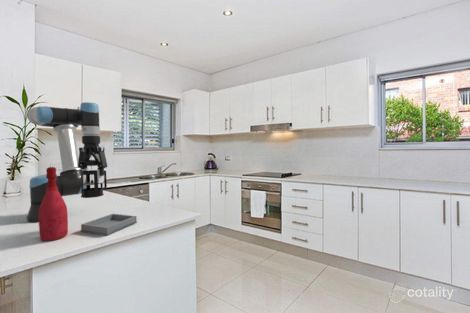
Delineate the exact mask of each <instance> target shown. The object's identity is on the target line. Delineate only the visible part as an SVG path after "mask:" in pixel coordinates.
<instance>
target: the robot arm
mask: <svg viewBox="0 0 470 313" xmlns="http://www.w3.org/2000/svg"><path fill="white" fill-rule="evenodd" d="M26 117H27V119H28V121H29V122H30V123H32V124H34V125H37V126H40V127H46V128H53V129H52V130H53V131H54V132H55V133H56V134H57V142H58V147H59V148H58V149H59V154H60V162H61V168H62V170H61V171H60V172H59V175H58V174H57V173H56V176H57V177H56V178H55V179H56V186H57V188H58V191H59V193H60V195H61V197H67V196H74V195H80V194H81V195H82V193H81V171H89V166H87V165H82V163H81V162H80V161H85V160H91V156H92V157H93V158H94V159H93V160H95V161H97V162H96V164H97V169H96V170H97V181H98V183H102V184H103V183H104V170H105V169H106V168H108V163H107V158H106V154H105V146H100V145H99V144H101V136H100V135H101V132H100V131H101V128H100V127H101V126H100V108H99V105H98V103H97V102H88V101H87V102H81V103H80V107H79V109H77V108H67V107H65V108H64V107H53V106H48V105H47V106H45V105H44V106H41V105H40V106H35V107H31V108H30V109H29V110H28V111H27V113H26ZM79 126H81V135H82V136H81V143H82V144H83V147H79V148H78V147H77V140H76V135H75V134H76V133H75V132H76V131H77V128H79ZM87 148H90V149H87ZM78 151H79V154H78ZM46 175H47V173H46V174H40V175H37V176H36V175H35V176H33V177H31V178H30V179H29V192H30V193H29V195H30V196H29V197H30V208H29V209H28V210H29V211H28V213H27V216H26V220H27V222H29V223H39V209H40V205H41V203H42V200H43V198H44V196H45V194H46V191H47V187H48V179H47V178H46ZM85 182H86V175H83V183H85ZM83 189H86V185H83Z"/></svg>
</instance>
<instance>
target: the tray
mask: <svg viewBox="0 0 470 313" xmlns="http://www.w3.org/2000/svg"><path fill="white" fill-rule="evenodd" d="M137 220H138V218H137V216H136V215H128V214H119V213H111V214H108V215H105V216H101V217H99V218H96V219H93V220H91V221H87V222H85V223H81V225H80V226H81V227H80V229H81V233H84V234H92V235H99V236H104V237H105V236H106V237H107V236H110V235H113V234H115V233H117V232H119V231H122V230H124V229H126V228H128V227H130V226H133V225H136V224H137V222H138V221H137ZM135 223H136V224H135Z"/></svg>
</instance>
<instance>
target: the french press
mask: <svg viewBox="0 0 470 313" xmlns="http://www.w3.org/2000/svg"><path fill="white" fill-rule="evenodd" d="M87 149H90V148H87ZM92 157H93V156H91V157H90V160H85V161H80V162H81V163H82V165H87V167H90V170H88V171H81V195H80V197H81V198H83V199H87V198H88V199H89V198H99V197H102V196H104V189H107V170H105V169H104V176H103V179H104V182H103V183H104V184H103V183H98V181H97V169H95V170H94V169H93V166H97V164H96V162H97V161H95V159H92ZM97 167H98V166H97ZM83 175H86V182H85V183H83ZM83 185H86V189H83ZM99 185H100V187H99ZM103 185H104V186H103ZM91 186H93V187H91Z"/></svg>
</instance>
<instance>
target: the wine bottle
mask: <svg viewBox="0 0 470 313" xmlns="http://www.w3.org/2000/svg"><path fill="white" fill-rule="evenodd" d="M46 174H47V175H46V178H47V179H48V187H47V191H46V194H45V196H44V198H43V200H42V203H41V205H40V209H39V222H38V229H39V237H40V239H41V241H45V242H50V241H57V240H60V239H62V238H65V237H66V236H68V233H69V230H68V229H69V221H68V220H69V216H68V214H69V213H68V208H67V207H68V206H67V204H66V202H65V200H64V198H63V196H61V195H60V193H59V191H58V188H57V186H56V179H55V178H56V177H57V176H58V175H57V176H56V174H57V167H54V166H49V167H47V168H46Z"/></svg>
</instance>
